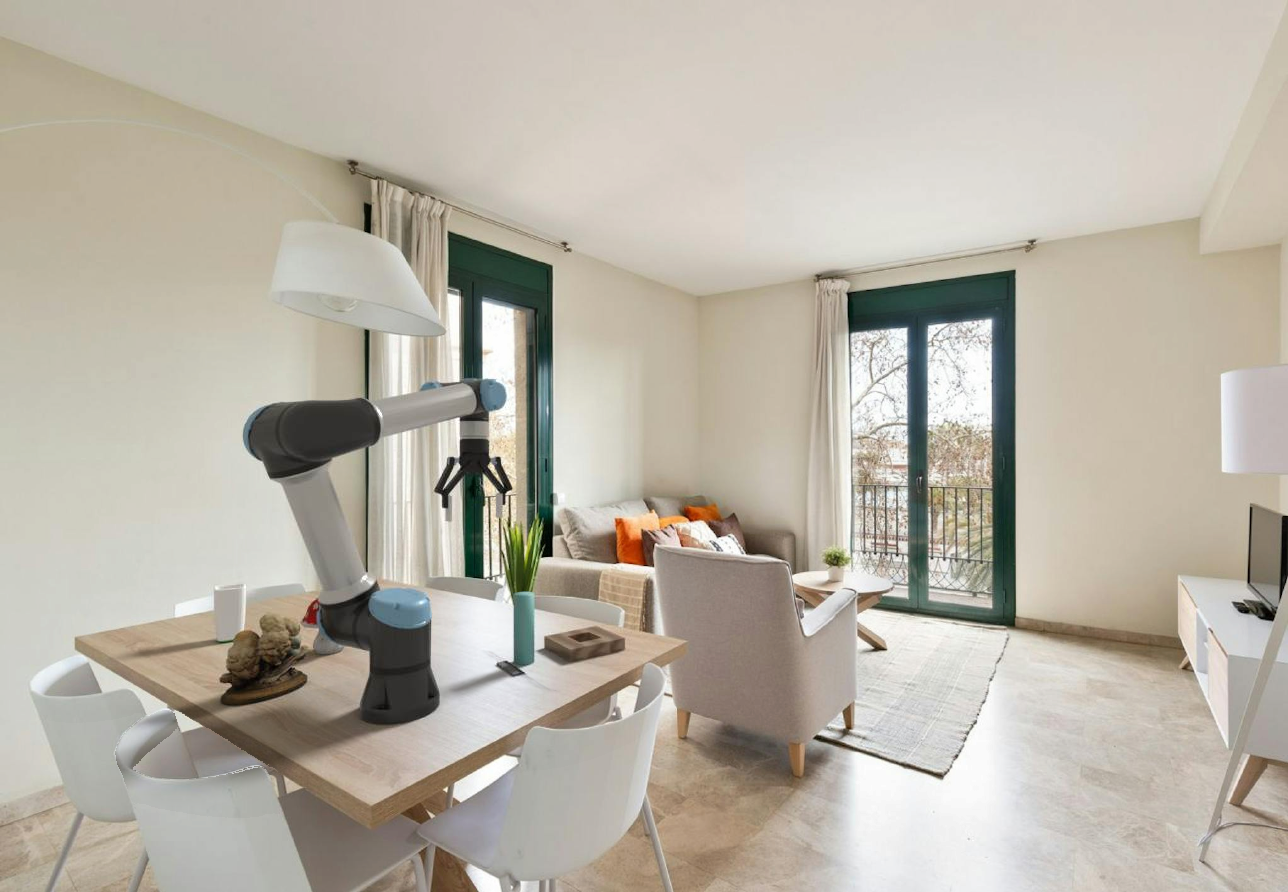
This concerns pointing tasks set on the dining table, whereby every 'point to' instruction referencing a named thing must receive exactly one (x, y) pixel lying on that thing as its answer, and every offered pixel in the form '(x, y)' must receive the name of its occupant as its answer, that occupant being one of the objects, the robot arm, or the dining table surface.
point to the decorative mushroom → (320, 642)
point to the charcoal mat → (510, 668)
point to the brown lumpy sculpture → (264, 662)
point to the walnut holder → (584, 643)
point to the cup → (229, 610)
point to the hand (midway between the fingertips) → (474, 519)
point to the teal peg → (523, 628)
